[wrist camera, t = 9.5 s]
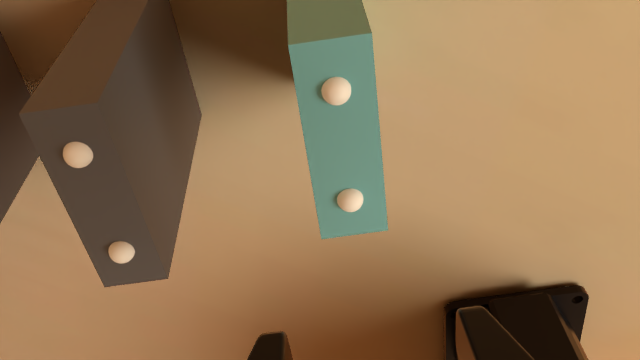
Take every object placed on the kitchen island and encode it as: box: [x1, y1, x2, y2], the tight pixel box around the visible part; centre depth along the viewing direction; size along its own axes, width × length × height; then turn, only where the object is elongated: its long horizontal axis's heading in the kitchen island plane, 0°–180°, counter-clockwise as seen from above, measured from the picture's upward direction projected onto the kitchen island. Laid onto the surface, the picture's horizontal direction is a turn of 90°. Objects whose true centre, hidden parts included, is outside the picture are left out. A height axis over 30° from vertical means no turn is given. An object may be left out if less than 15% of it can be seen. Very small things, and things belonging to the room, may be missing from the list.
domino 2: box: [19, 0, 201, 287], centre depth 17 cm, size 5×2×8 cm, turn 7°
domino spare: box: [287, 0, 388, 239], centre depth 16 cm, size 5×2×8 cm, turn 7°
